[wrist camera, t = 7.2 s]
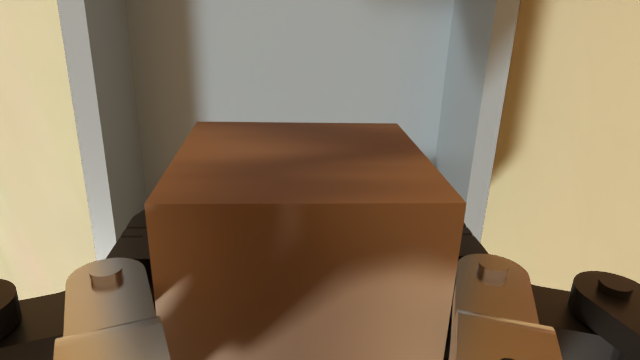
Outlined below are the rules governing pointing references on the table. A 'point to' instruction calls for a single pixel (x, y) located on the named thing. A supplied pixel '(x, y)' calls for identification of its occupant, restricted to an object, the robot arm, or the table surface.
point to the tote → (281, 82)
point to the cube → (303, 244)
